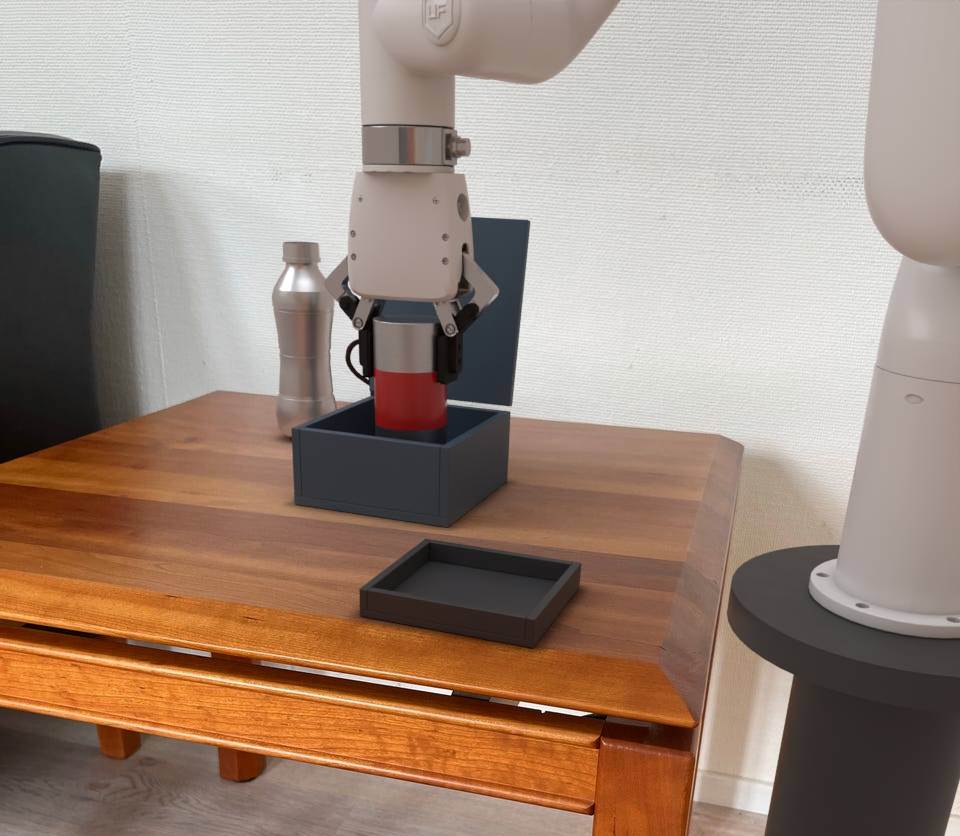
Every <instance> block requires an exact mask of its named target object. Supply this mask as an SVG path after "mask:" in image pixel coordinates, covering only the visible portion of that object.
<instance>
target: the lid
mask: <svg viewBox="0 0 960 836" xmlns="http://www.w3.org/2000/svg"><path fill="white" fill-rule="evenodd" d="M471 222H472V234H473V250H474V261H475V262H476V263H477V264H478V266H479V267H480V268H481V269H482V270H483V271H484V272H485V273H486V274H487V276H488V277H489V278H490V279H491V280H492V281H493V282H494V283H495V285H496V286H497V287H498V288H499V294H498V296H497V297H496V298H495V299H494V300H493V301H492V302H491V304H490V305H489V306H488V307H487V308H486V309H485V310H484V311H483V312H482V314H481V315H480V316H479V317H478V318H477V319H476V320H475V321H474V323H473V324H472V325H471V326H470V327H469V328H468V330H467V331H466V332H465V333H463V366H462V371H461V373H459V374H458V379H457V380H456V381H453V382H451V383H449V384H447V401H458V402H466V403H474V404H475V403H476V404H484V405H493V406H501V407H512V406H513V401H514V391H515V381H516V373H517V372H516V370H517V360H518V351H519V341H520V329H521V323H522V322H521V320H522V309H523V302H524V301H523V300H524V289H525V281H526V280H525V279H526V271H527V260H528V251H529V240H530V231H531V220H529V219H521V218H520V219H518V218H505V217H504V218H503V217H485V216H484V217H482V216H471ZM474 295H475V289H474V288H473V290H472V292H471V293H470V294H469V295H467V296H465V297H462V298H458V299H459V301H460V304H461V307H462V308H463V307H464V306H465V305H466V304H468V303H469V302H470V301H471V300H472V298H473V297H474ZM385 315H429V316H438V315H437V312H436V310H435V307H434V305H433V302H417V301H400V300H386V303H385V305H384V308H383V310H382V313H381V316H385ZM368 387H369V386H368ZM368 390H369V392H370V391H374V377H371V378H370V387H369V389H368Z"/></svg>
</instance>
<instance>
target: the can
mask: <svg viewBox="0 0 960 836" xmlns="http://www.w3.org/2000/svg"><path fill="white" fill-rule="evenodd" d="M439 336H443V327H442V325H441V322H440V320H439V317H438V316H429V315H385V316H378V317H375V318H373V349H374V401H375V433H376V436H377V437H385V438H393V439H401V440H409V441H417V442H425V443H433V444H441V445H445V444H446V443H447V404H448V400H447V384H440V382H438V338H439Z"/></svg>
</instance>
